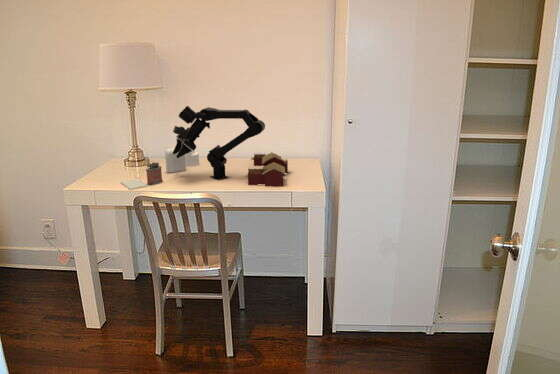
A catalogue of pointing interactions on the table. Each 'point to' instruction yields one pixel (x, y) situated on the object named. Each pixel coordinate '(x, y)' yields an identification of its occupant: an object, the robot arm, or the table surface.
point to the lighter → (154, 174)
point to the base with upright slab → (191, 159)
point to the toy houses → (267, 170)
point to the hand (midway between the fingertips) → (175, 155)
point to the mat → (134, 184)
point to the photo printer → (174, 161)
